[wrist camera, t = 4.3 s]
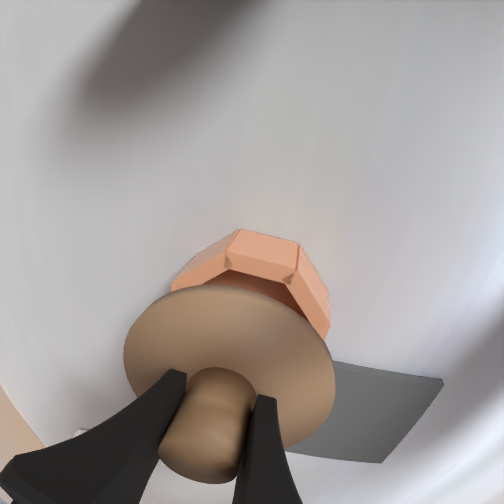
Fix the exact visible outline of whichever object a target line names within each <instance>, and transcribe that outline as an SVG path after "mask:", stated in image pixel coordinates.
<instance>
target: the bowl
mask: <svg viewBox="0 0 504 504" xmlns="http://www.w3.org/2000/svg"><path fill="white" fill-rule="evenodd" d="M197 285H226V286H234V287H239V288H244V289H248V290H252V291H255V292H258V293H261V294H264V295H266V296H268V297H270V298H273V299H275V300H277V301H279V302H281V303H283V304H284V305H286V306H287V307H289V308H291V309H292V310H294V311H295V312H297V313H298V314H299V315H300V316H302V317H303V318H304V319H305V320H306V321H307V322H308V323H309V324H310V325H311V326H312V327H313V328H314V329H315V330H316V331H317V332H318V334H319V335H320V336H321V338H322V339H323V341H324V340H325V337H326V335H327V332H328V330H329V327H330V313H329V300H328V290H327V288H326V287H325V285H324V283H323V281H322V280H321V278H320V276H319V275H318V273H317V271H316V270H315V268H314V267H313V265H312V263H311V262H310V260H309V258H308V257H307V255H306V253H305V252H304V250H303V248H302V247H301V245H299V246H298V243H295V242H292V241H288V240H284V239H280V238H276V237H272V236H268V235H264V234H260V233H256V232H252V231H248V230H244V229H241V230H239V229H238V230H237V231H235V232H233V233H232V234H230V235H228V236H227V237H225V238H223V239H222V240H220V241H218V242H217V243H215V244H213V245H212V246H210V247H208V248H207V249H205V250H203V251H202V252H200V253H199V254H197V255H195V256H194V257H193V258H192V260H191V261H190V262H189V263H188V264H187V265H186V266H185V268H184V269H183V270H182V271H181V272H180V273H179V275H178V276H177V277H176V278H175V279H174V280H173V282H172V286H171V292H173V291H175V290H179V289H182V288H185V287H191V286H197Z"/></svg>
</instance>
